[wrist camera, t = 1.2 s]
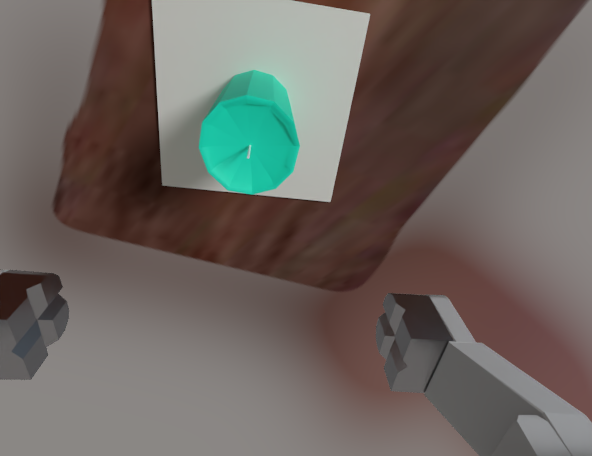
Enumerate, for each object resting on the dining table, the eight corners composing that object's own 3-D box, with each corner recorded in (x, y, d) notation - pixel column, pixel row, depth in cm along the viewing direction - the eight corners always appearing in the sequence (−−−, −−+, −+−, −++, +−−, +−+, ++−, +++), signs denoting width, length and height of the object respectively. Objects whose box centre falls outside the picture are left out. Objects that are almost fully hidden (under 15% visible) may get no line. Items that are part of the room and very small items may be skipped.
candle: (269, 155, 32) (270, 221, 22) (207, 121, 30) (175, 177, 20) (304, 94, 29) (323, 137, 19) (239, 54, 28) (220, 77, 17)
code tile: (163, 184, 33) (162, 185, 33) (151, -24, 25) (150, -24, 25) (329, 200, 35) (330, 202, 35) (369, 13, 27) (370, 13, 27)
